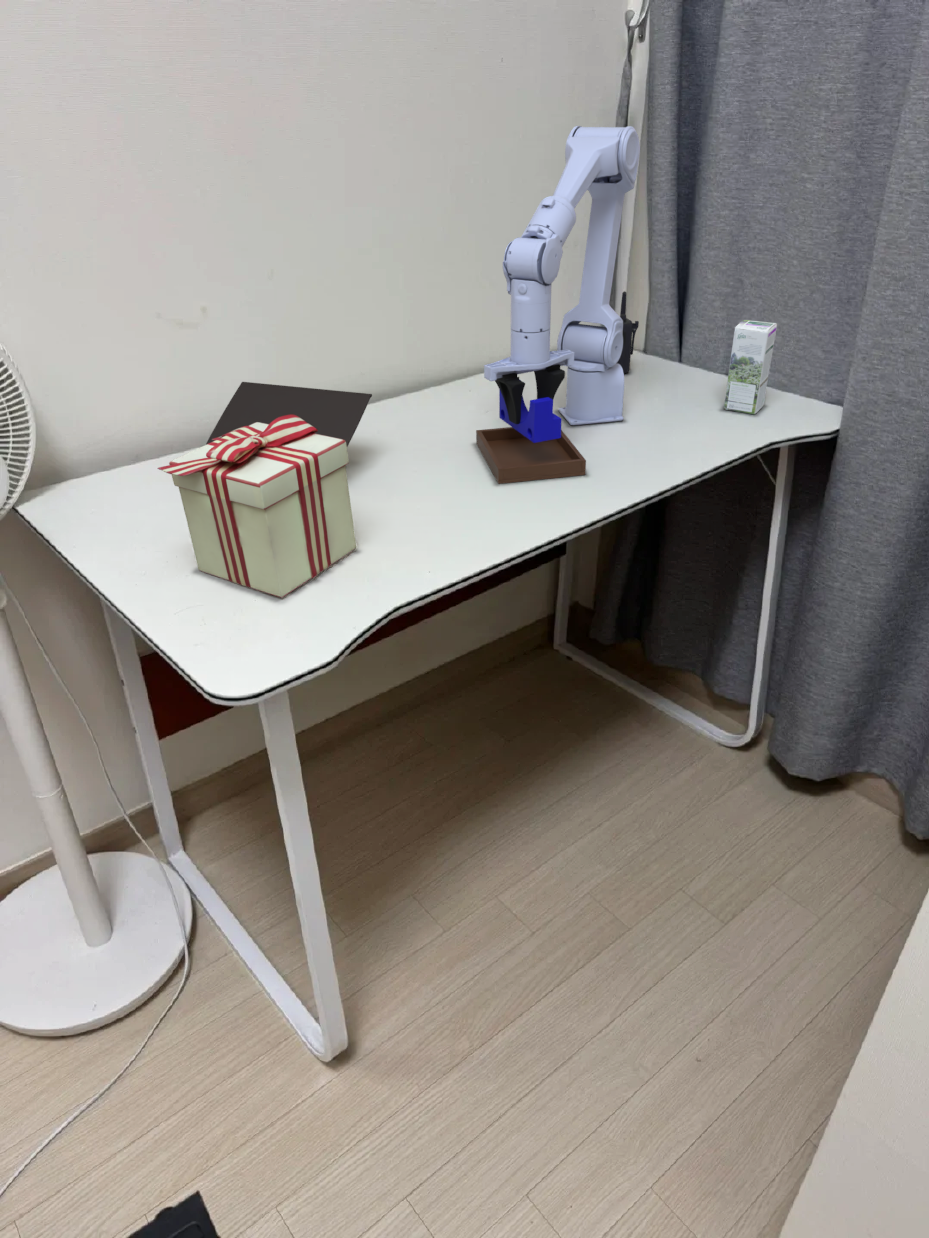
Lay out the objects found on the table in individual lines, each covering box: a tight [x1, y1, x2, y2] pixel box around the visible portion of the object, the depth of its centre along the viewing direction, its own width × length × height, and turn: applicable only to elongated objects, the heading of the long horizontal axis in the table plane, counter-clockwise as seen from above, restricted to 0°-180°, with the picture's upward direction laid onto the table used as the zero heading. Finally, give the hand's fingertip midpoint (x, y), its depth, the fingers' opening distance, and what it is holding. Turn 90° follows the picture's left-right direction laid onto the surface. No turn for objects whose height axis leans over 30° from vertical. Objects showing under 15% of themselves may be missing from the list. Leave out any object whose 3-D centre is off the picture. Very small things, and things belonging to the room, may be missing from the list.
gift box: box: [157, 414, 357, 599], centre depth 104 cm, size 17×18×17 cm
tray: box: [475, 426, 587, 485], centre depth 134 cm, size 13×16×2 cm
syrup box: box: [723, 319, 778, 415], centre depth 148 cm, size 6×6×14 cm
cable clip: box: [498, 378, 562, 443], centre depth 130 cm, size 12×4×6 cm, turn 23°
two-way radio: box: [617, 290, 640, 375], centre depth 167 cm, size 6×4×15 cm
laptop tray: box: [205, 381, 373, 448], centre depth 130 cm, size 23×23×9 cm
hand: (529, 419), depth 131 cm, fingers closed on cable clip, 4 cm apart
